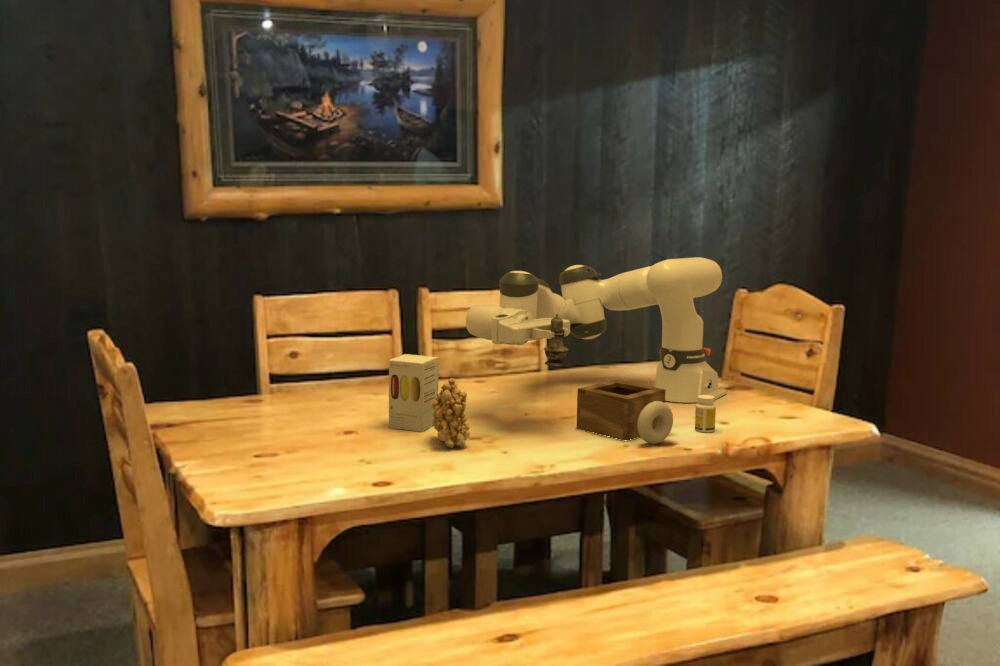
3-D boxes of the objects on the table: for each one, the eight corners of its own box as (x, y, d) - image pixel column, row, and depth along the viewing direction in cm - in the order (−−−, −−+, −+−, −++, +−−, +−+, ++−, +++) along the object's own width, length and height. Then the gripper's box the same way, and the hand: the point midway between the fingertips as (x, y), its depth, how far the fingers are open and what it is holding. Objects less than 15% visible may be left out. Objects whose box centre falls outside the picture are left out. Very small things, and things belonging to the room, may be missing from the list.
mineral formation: (440, 452, 202) (440, 385, 199) (422, 437, 214) (422, 373, 212) (474, 449, 205) (475, 383, 202) (455, 434, 217) (455, 371, 215)
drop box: (614, 418, 233) (616, 379, 232) (663, 429, 223) (665, 389, 221) (576, 428, 223) (577, 388, 221) (626, 441, 212) (627, 399, 211)
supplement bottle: (715, 428, 224) (717, 395, 223) (713, 433, 220) (715, 399, 219) (695, 427, 226) (697, 393, 225) (693, 431, 222) (695, 397, 220)
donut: (643, 448, 207) (645, 405, 205) (633, 445, 209) (634, 402, 208) (675, 442, 212) (677, 400, 211) (664, 438, 215) (666, 397, 213)
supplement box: (387, 428, 221) (386, 359, 219) (404, 419, 230) (404, 353, 227) (423, 432, 218) (423, 362, 215) (439, 423, 227) (439, 356, 224)
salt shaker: (566, 366, 214) (568, 315, 212) (541, 365, 215) (543, 314, 213) (569, 362, 220) (570, 312, 218) (544, 360, 221) (546, 311, 219)
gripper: (544, 335, 233) (587, 342, 223) (487, 344, 219) (529, 352, 209) (545, 310, 232) (587, 316, 222) (487, 318, 218) (530, 324, 208)
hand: (559, 333), depth 216 cm, fingers closed on salt shaker, 4 cm apart
